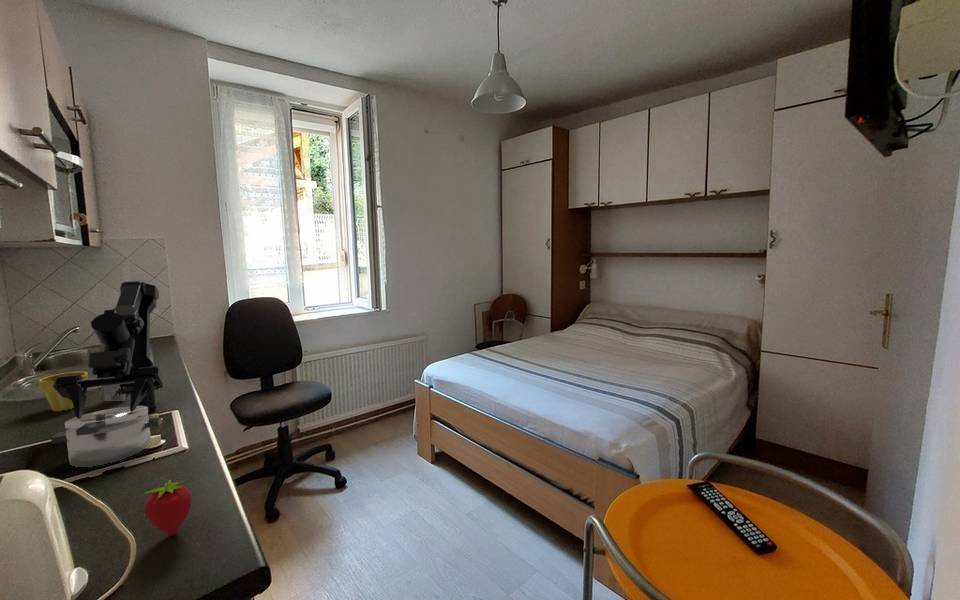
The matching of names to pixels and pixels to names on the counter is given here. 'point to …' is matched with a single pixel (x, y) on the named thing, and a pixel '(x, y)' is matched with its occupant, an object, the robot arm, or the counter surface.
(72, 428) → the cooker lid
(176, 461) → the counter surface
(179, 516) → the strawberry
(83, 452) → the cooker pot
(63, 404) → the plant pot
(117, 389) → the coffee box
